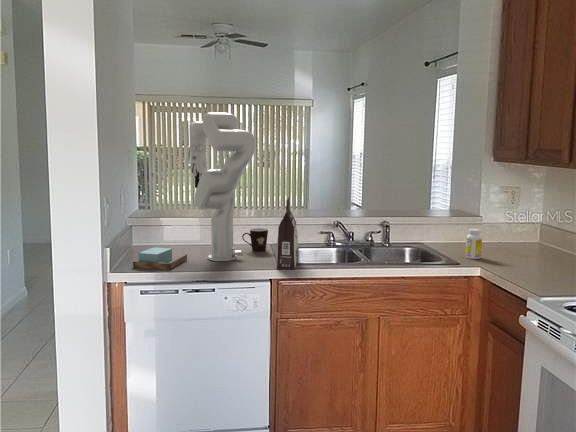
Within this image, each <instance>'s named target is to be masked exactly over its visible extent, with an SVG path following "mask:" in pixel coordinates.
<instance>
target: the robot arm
mask: <svg viewBox="0 0 576 432" xmlns="http://www.w3.org/2000/svg"><path fill="white" fill-rule="evenodd" d="M238 127H239V120H238V117H237V116H235V114H233V113H229V112H214V111H213V112H211V111H210V112H208V113H207V112H206V113H205V114H204V116H203V118H202V120H201V121H199V120H198V121H197V120H196V121H194V122H190V123H189V128H188V130H189V152H190V172H191V173H192V175H193V178H194V188H195V189H196V190H195V193H194V201H193V202H194V205H195V207H196V208H197V209H199V210H202V211H203V210H204V211H205V210H214V212H213V213H212V215H211V220H210V231H211V233H210V235H211V237H210V239H211V240H210V241H211V243H210V245H211V254H209V255H208V256H207V259H208V260H210V261H214V262H230V261H235V260H236V259H237V258H238V256H239V257H241V256H243V251H242V250H236V247H234V208H235V203H236V193H235V190H236V189H237V187H238V186H239V183H240V181H241V179H242V177H243V174H244V172H245V169H246V168H247V166H248V165H249V163H250V162H251V160H252V158H253V157H254V154H255V150H256V138H255V136H254V134H253V133H252V132H251V131H248V130H245V129H237V128H238ZM207 140H208V142H209V144H210V147H212V149H214V151H217V152H233V153H232V154H230V155H229V156H228V157H227V158H226V160H225V161H224V164H223V166H222V168H214V169H211V168H210V169H208V166H207V165H208V164H207V153H206V152H207Z"/></svg>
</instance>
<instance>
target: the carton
mask: <svg viewBox="0 0 576 432" xmlns="http://www.w3.org/2000/svg"><path fill="white" fill-rule="evenodd" d="M138 259H139V261H141V262H160V263H169V262H171V261H173V248H170V247H169V248H168V247H167V248H166V247H151V248H148V249H145V250H142V251H141V252H138Z"/></svg>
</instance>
